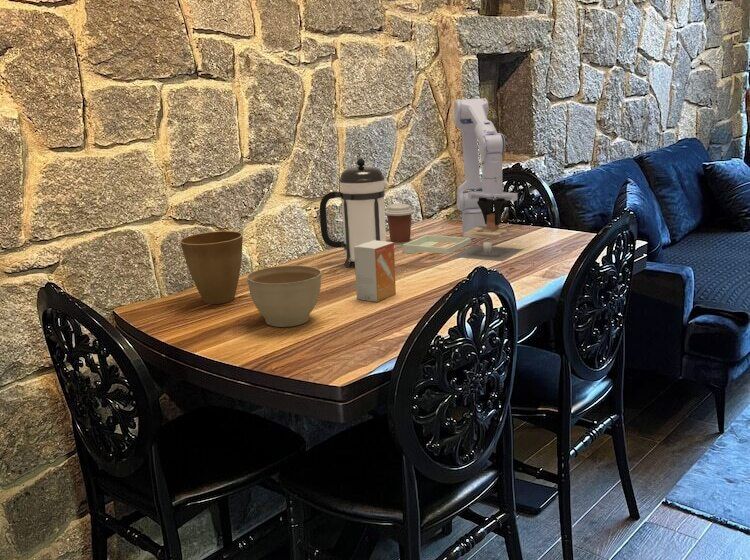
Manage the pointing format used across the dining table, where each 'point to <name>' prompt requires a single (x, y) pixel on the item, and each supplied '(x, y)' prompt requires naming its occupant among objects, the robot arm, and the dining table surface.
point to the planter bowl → (285, 293)
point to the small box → (375, 270)
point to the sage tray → (429, 240)
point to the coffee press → (358, 209)
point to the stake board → (492, 256)
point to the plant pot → (214, 263)
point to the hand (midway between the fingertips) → (492, 224)
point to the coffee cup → (399, 223)
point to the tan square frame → (488, 229)
